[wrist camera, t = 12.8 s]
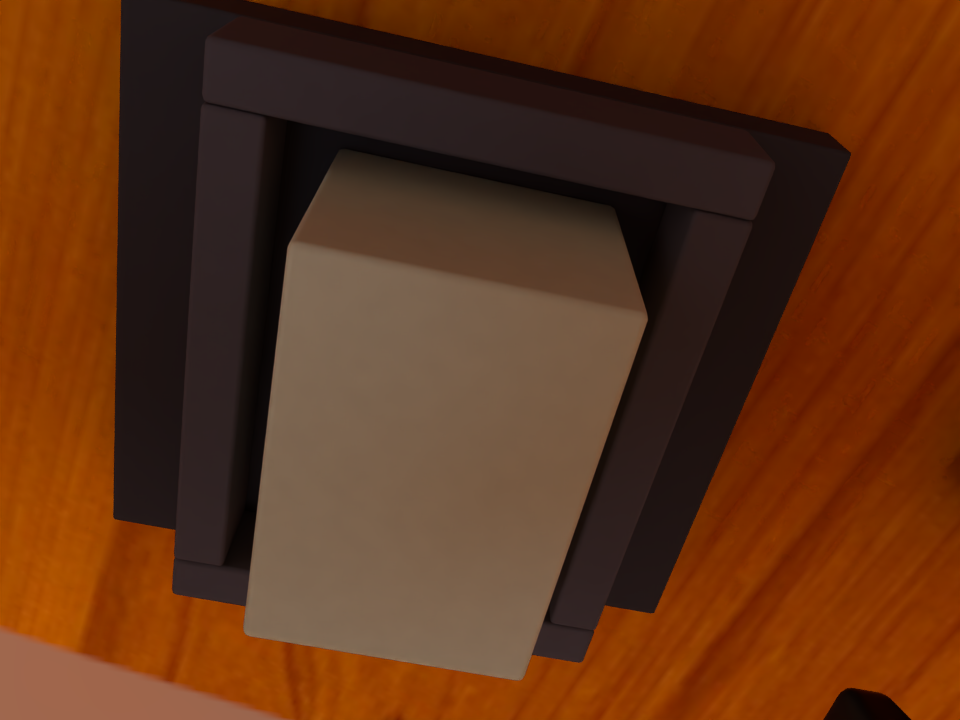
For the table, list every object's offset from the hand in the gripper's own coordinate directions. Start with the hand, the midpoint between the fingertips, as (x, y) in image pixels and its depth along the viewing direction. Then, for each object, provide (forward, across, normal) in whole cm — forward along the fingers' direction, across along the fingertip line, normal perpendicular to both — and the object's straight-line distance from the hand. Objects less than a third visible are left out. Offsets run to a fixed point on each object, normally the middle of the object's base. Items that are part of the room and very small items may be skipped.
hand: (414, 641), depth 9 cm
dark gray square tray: (+7, 0, 0) cm, 7 cm away
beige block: (+6, 0, 0) cm, 6 cm away
